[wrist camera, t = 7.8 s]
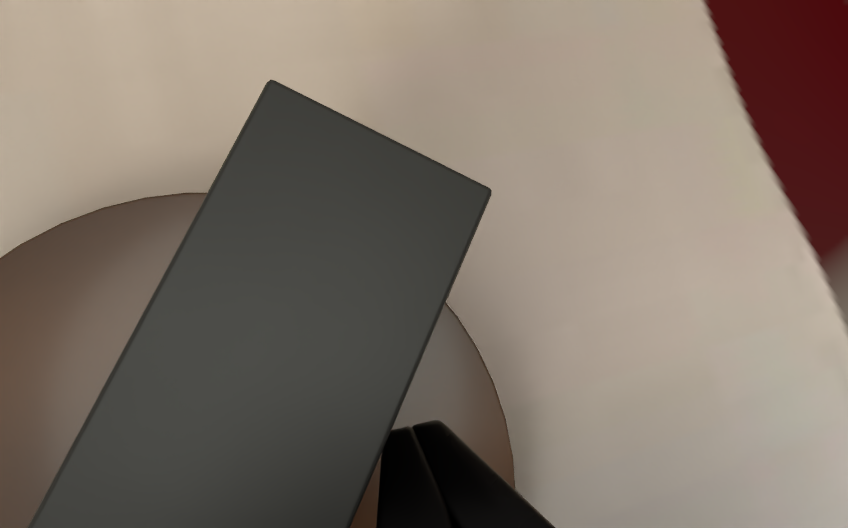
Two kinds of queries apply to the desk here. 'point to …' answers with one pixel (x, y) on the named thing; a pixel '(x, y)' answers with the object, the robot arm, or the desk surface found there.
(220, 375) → the clock
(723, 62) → the desk surface
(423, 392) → the shallow brown dish
